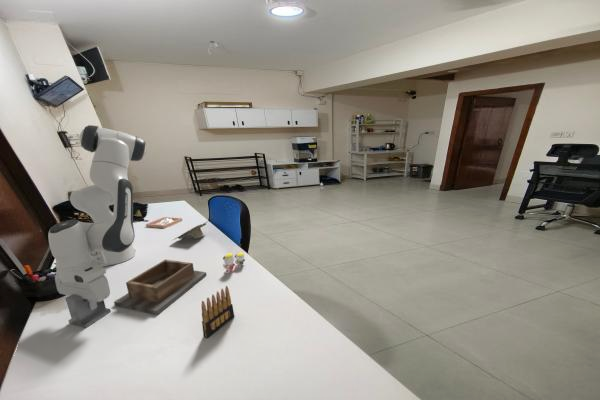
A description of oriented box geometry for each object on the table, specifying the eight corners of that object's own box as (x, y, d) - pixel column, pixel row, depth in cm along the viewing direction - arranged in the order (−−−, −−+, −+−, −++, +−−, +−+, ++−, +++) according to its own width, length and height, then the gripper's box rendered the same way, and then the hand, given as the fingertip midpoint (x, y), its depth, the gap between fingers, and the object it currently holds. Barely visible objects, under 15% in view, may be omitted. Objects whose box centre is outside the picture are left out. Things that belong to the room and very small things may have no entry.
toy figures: (241, 262, 121) (239, 246, 119) (247, 264, 118) (245, 248, 116) (220, 273, 111) (218, 256, 109) (226, 276, 109) (224, 258, 107)
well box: (114, 305, 92) (110, 287, 90) (169, 269, 116) (167, 254, 114) (157, 314, 86) (153, 295, 84) (206, 275, 110) (204, 259, 108)
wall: (181, 253, 143) (201, 234, 141) (169, 241, 143) (189, 221, 141) (198, 244, 161) (216, 227, 159) (187, 233, 161) (205, 216, 159)
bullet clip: (230, 315, 85) (226, 283, 82) (234, 317, 84) (230, 285, 81) (203, 336, 76) (197, 301, 73) (207, 338, 75) (201, 303, 72)
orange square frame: (146, 226, 177) (145, 224, 176) (164, 219, 192) (164, 216, 191) (164, 228, 172) (164, 225, 171) (182, 220, 187) (181, 218, 186)
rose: (174, 215, 186) (171, 219, 176) (175, 221, 187) (172, 225, 177) (160, 217, 183) (155, 221, 174) (161, 223, 185) (157, 227, 175)
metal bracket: (69, 323, 84) (61, 297, 81) (94, 308, 91) (87, 283, 89) (86, 328, 81) (78, 301, 79) (110, 311, 89) (104, 286, 86)
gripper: (44, 271, 82) (56, 308, 86) (88, 279, 76) (99, 318, 79) (66, 262, 88) (76, 296, 91) (109, 269, 82) (118, 306, 85)
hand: (87, 307), depth 85 cm, fingers closed on metal bracket, 4 cm apart
